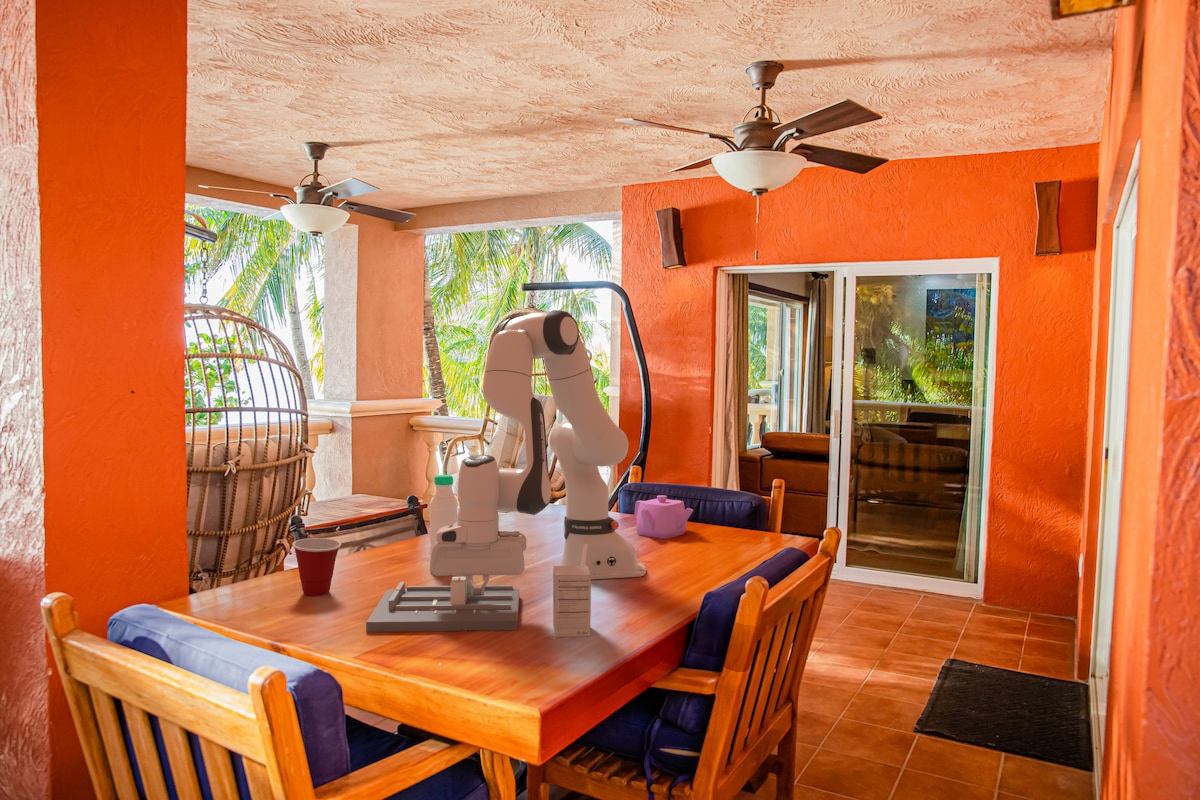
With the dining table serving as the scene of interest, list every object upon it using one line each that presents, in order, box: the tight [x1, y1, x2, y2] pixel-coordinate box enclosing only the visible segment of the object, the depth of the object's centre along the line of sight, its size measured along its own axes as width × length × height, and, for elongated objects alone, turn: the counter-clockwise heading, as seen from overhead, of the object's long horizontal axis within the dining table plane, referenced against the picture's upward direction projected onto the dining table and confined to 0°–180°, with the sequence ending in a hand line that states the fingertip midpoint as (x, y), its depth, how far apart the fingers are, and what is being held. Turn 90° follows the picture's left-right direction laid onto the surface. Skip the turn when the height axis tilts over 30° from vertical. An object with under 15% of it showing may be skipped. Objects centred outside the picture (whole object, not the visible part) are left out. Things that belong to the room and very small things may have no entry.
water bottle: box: [428, 474, 459, 570], centre depth 216 cm, size 7×7×25 cm
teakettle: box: [633, 494, 694, 540], centre depth 268 cm, size 17×17×12 cm
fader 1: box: [450, 576, 467, 605], centre depth 181 cm, size 3×5×5 cm, turn 4°
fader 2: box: [457, 575, 474, 594], centre depth 189 cm, size 3×5×5 cm, turn 4°
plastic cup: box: [291, 537, 342, 597], centre depth 195 cm, size 11×11×12 cm
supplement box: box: [552, 565, 592, 638], centre depth 169 cm, size 7×7×13 cm
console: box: [365, 581, 520, 633], centre depth 180 cm, size 30×24×4 cm
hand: (477, 595), depth 181 cm, fingers closed
